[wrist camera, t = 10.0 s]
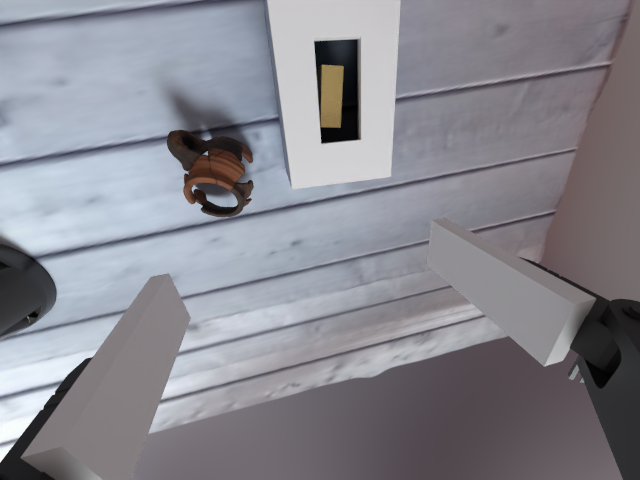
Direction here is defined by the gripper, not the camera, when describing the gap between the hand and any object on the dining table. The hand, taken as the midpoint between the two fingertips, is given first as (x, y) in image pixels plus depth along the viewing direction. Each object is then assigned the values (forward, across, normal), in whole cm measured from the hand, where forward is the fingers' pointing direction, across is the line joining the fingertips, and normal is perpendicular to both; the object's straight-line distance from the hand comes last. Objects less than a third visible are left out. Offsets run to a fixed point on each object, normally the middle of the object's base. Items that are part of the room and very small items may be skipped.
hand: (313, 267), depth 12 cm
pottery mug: (+28, -8, +2) cm, 29 cm away
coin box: (+27, +7, +8) cm, 29 cm away
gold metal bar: (+27, +7, +8) cm, 29 cm away
